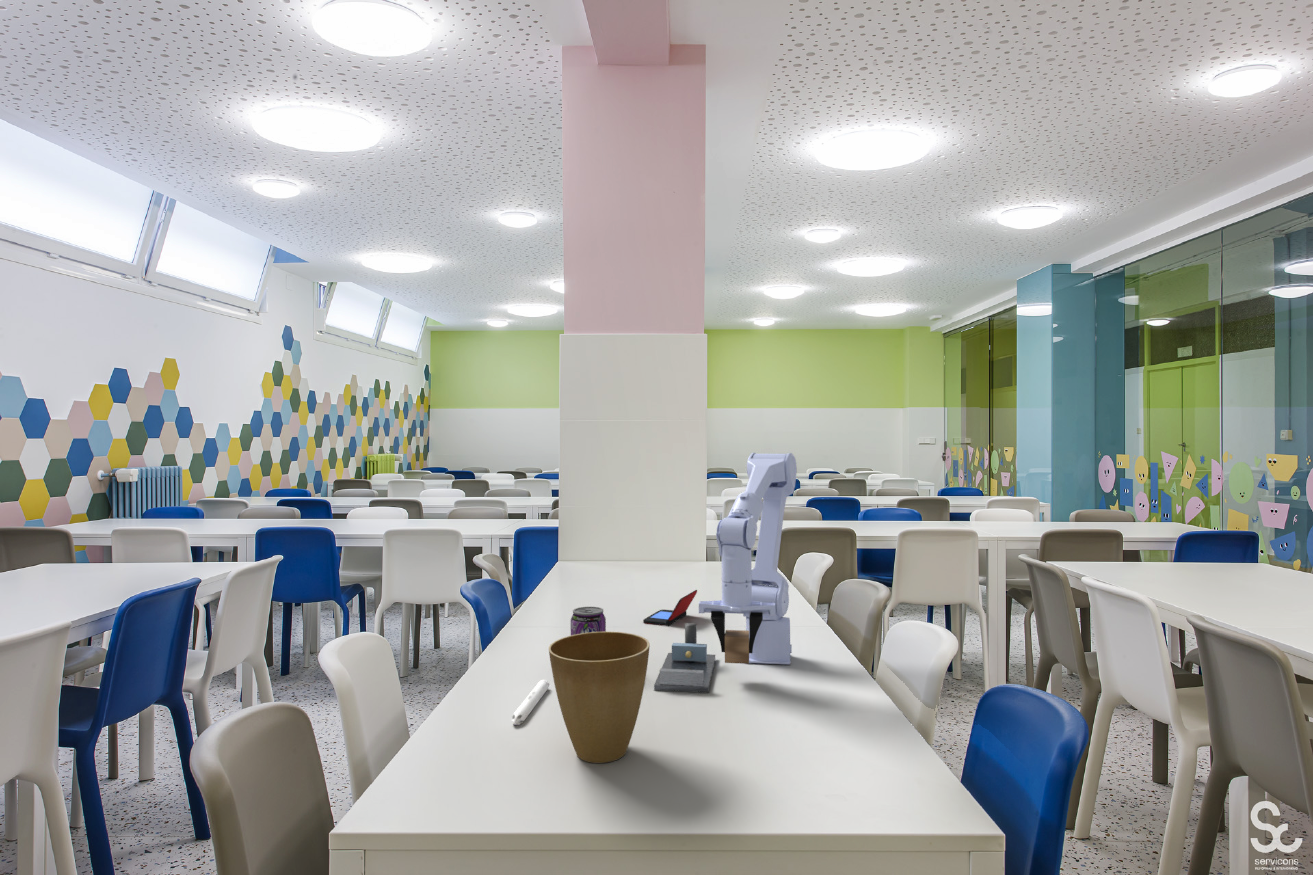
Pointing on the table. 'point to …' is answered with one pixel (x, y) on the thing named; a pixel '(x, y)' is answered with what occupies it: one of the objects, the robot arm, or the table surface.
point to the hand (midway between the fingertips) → (737, 651)
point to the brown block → (737, 646)
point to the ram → (689, 647)
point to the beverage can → (588, 620)
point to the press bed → (685, 675)
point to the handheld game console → (671, 612)
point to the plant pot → (600, 690)
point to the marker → (530, 702)
